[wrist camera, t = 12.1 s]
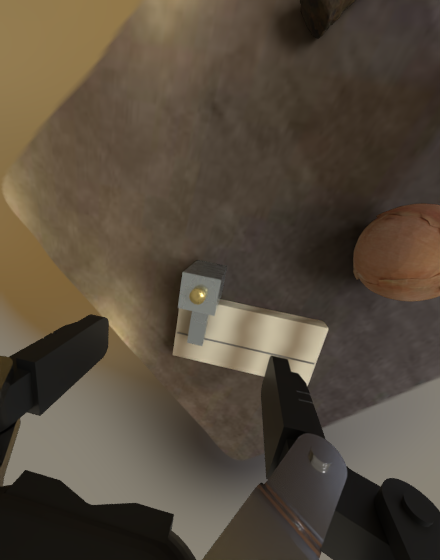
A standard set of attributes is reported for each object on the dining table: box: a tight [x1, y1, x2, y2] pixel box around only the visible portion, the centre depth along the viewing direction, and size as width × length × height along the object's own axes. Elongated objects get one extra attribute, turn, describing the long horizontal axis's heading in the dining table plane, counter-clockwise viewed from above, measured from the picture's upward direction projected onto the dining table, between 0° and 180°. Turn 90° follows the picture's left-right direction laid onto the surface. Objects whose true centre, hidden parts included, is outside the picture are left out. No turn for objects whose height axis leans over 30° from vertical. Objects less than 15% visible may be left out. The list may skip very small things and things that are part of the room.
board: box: [173, 299, 329, 386], centre depth 29 cm, size 19×9×2 cm, turn 80°
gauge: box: [178, 260, 227, 346], centre depth 26 cm, size 4×10×8 cm, turn 170°
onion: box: [353, 203, 440, 301], centre depth 21 cm, size 10×9×10 cm
